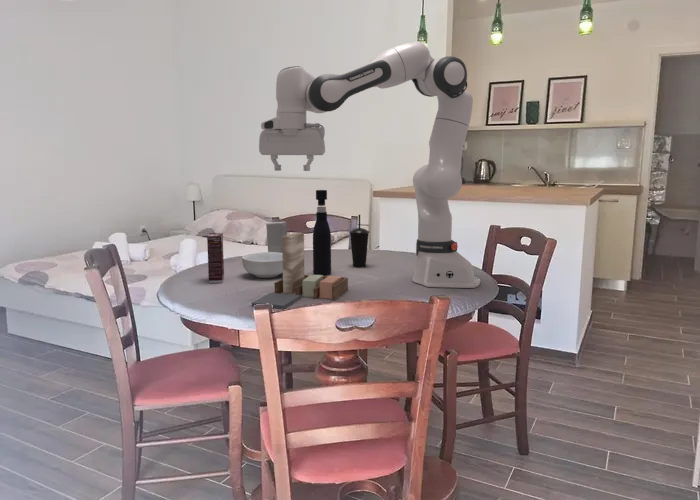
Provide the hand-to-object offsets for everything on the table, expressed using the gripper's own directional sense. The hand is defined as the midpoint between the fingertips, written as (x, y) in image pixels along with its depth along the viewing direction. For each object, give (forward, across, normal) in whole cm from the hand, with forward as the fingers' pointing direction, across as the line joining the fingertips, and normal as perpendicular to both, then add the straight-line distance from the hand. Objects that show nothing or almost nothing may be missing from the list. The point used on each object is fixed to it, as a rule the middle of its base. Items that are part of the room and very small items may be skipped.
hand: (292, 170), depth 162 cm
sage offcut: (+38, -6, 0) cm, 38 cm away
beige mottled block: (+37, 0, 0) cm, 37 cm away
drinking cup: (+37, -8, -44) cm, 58 cm away
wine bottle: (+38, 0, -27) cm, 46 cm away
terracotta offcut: (+38, -12, 0) cm, 39 cm away
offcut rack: (+37, -6, 0) cm, 38 cm away
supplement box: (+38, +31, -7) cm, 50 cm away
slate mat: (+37, 0, +13) cm, 40 cm away
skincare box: (+38, +27, -46) cm, 65 cm away
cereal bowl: (+38, +18, -19) cm, 46 cm away
